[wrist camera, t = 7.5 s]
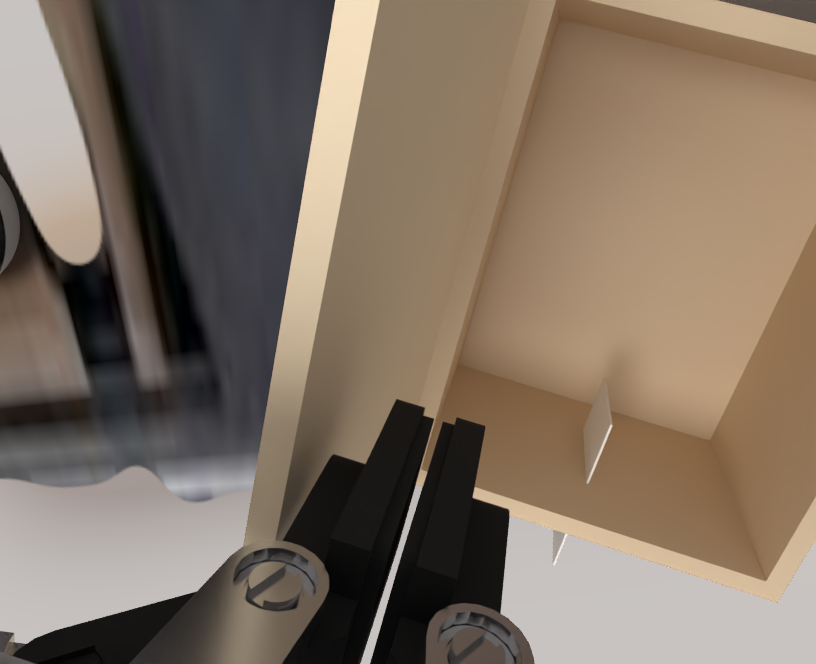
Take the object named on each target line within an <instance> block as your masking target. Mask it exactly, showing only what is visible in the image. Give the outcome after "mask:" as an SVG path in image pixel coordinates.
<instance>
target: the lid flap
mask: <svg viewBox="0 0 816 664" xmlns="http://www.w3.org/2000/svg"><path fill="white" fill-rule="evenodd" d="M529 1H530V0H336V1H335V7H334V13H333V19H332V25H331V31H330V37H329V42H328V48H327V54H326V60H325V66H324V72H323V78H322V84H321V90H320V96H319V102H318V107H317V113H316V119H315V125H314V131H313V137H312V143H311V149H310V155H309V161H308V167H307V172H306V178H305V184H304V190H303V196H302V202H301V208H300V214H299V220H298V226H297V232H296V237H295V243H294V249H293V255H292V261H291V267H290V273H289V279H288V285H287V291H286V297H285V302H284V308H283V314H282V320H281V326H280V332H279V338H278V344H277V350H276V356H275V362H274V367H273V373H272V379H271V385H270V391H269V397H268V403H267V409H266V415H265V421H264V427H263V432H262V438H261V444H260V450H259V456H258V462H257V468H256V474H255V480H254V486H253V492H252V498H251V503H250V509H249V515H248V521H247V527H246V533H245V539H244V545H243V547H244V546H247V545H249V544H252V543H255V542H260V541H267V540H277V541H282V540H283V539H284V537H285V535H286V534H287V532H288V530H289V528H290V527H291V525H292V523H293V521H294V520H295V518H296V516H297V514H298V513H299V511H300V509H301V507H302V506H303V504H304V502H305V500H306V499H307V497H308V495H309V493H310V492H311V490H312V488H313V486H314V485H315V483H316V481H317V479H318V478H319V476H320V474H321V472H322V471H323V469H324V467H325V466H326V464H327V462H328V460H329V459H330V457H331V456H332V455H333V454H335V455H339V456H342V457H345V458H348V459H351V460H354V461H358V462H361V463H364V464H366V462H367V460H368V458H369V456H370V453H371V451H372V449H373V447H374V445H375V443H376V441H377V439H378V437H379V434H380V432H381V430H382V428H383V426H384V424H385V422H386V420H387V418H388V415H389V413H390V411H391V409H392V407H393V405H394V403H395V401H396V399H399V400H402V401H405V402H408V403H412V404H415V405H418V406H419V403H420V399H421V395H422V392H423V388H424V384H425V381H426V377H427V373H428V370H429V366H430V362H431V359H432V355H433V351H434V348H435V344H436V340H437V337H438V333H439V330H440V326H441V322H442V319H443V315H444V311H445V308H446V304H447V300H448V297H449V293H450V289H451V286H452V282H453V278H454V275H455V271H456V267H457V264H458V260H459V256H460V253H461V249H462V246H463V242H464V238H465V235H466V231H467V227H468V224H469V220H470V216H471V213H472V209H473V205H474V202H475V198H476V194H477V191H478V187H479V183H480V180H481V176H482V172H483V169H484V165H485V161H486V158H487V154H488V151H489V147H490V143H491V140H492V136H493V132H494V129H495V125H496V121H497V118H498V114H499V110H500V107H501V103H502V99H503V96H504V92H505V88H506V85H507V81H508V77H509V74H510V70H511V67H512V63H513V59H514V56H515V52H516V48H517V45H518V41H519V37H520V34H521V30H522V26H523V23H524V19H525V15H526V12H527V8H528V4H529Z"/></svg>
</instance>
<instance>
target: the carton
mask: <svg viewBox="0 0 816 664" xmlns="http://www.w3.org/2000/svg"><path fill="white" fill-rule="evenodd" d="M419 406H422V407H425V411H424V416H427V417H430V418H434V422H433V425H432V429H431V432H430V436H429V440H428V443H427V447H426V450H425V454H424V457H423V461H422V464H421V468H420V471H419V475H418V478H417V482H416V485H419V486H422V487H423V485H424V481H425V478H426V475H427V472H428V468H429V465H430V462H431V459H432V455H433V452H434V449H435V446H436V443H437V439H438V436H439V433H440V430H441V426H442V423H443V421H444V422H447V423H450V424H453V425H454V424H455V421H456V418H457V417H458V418H461V419H464V420H468V421H471V422H474V423H477V424H481V425H484V426H486V428H485V433H484V439H483V444H482V450H481V455H480V460H479V466H478V471H477V477H476V482H475V488H474V493H473V498H475V499H478V500H481V501H484V502H488V503H491V504H494V505H497V506H500V507H503V508H507V509H509V515H510V516H513V517H516V518H520V519H523V520H526V521H529V522H532V523H535V524H538V525H541V526H544V527H547V528H550V529H553V565H555V564H556V561H557V559H558V556H559V554H560V551H561V549H562V547H563V544H564V542H565V540H566V537H567V535H571V536H575V537H578V538H581V539H584V540H587V541H590V542H593V543H596V544H599V545H602V546H605V547H608V548H611V549H614V550H617V551H620V552H623V553H626V554H630V555H633V556H636V557H639V558H642V559H645V560H648V561H651V562H654V563H657V564H660V565H663V566H666V567H669V568H672V569H675V570H679V571H681V572H685V573H688V574H691V575H694V576H697V577H700V578H703V579H706V580H709V581H712V582H715V583H718V584H721V585H724V586H727V587H730V588H734V589H736V590H740V591H743V592H746V593H749V594H752V595H755V596H758V597H761V598H764V599H767V600H770V601H774V602H776V603H778V601H779V600H780V598H781V596H782V595H783V593H784V591H785V590H786V588H787V586H788V585H789V583H790V581H791V580H792V578H793V576H794V574H795V573H796V571H797V570H798V568H799V566H800V565H801V563H802V561H803V560H804V558H805V556H806V555H807V553H808V552H809V550H810V548H811V546H812V545H813V543H814V541H815V540H816V24H815V23H811V22H806V21H802V20H798V19H794V18H789V17H785V16H781V15H777V14H773V13H768V12H764V11H760V10H756V9H751V8H747V7H743V6H739V5H734V4H730V3H726V2H722V1H718V0H530V1H529V4H528V8H527V12H526V15H525V19H524V23H523V26H522V30H521V34H520V37H519V41H518V45H517V48H516V52H515V56H514V59H513V63H512V67H511V70H510V74H509V77H508V81H507V85H506V88H505V92H504V96H503V99H502V103H501V107H500V110H499V114H498V118H497V121H496V125H495V129H494V132H493V136H492V140H491V143H490V147H489V151H488V154H487V158H486V161H485V165H484V169H483V172H482V176H481V180H480V183H479V187H478V191H477V194H476V198H475V202H474V205H473V209H472V213H471V216H470V220H469V224H468V227H467V231H466V235H465V238H464V242H463V246H462V249H461V253H460V256H459V260H458V264H457V267H456V271H455V275H454V278H453V282H452V286H451V289H450V293H449V297H448V300H447V304H446V308H445V311H444V315H443V319H442V322H441V326H440V330H439V333H438V337H437V340H436V344H435V348H434V351H433V355H432V359H431V362H430V366H429V370H428V373H427V377H426V381H425V384H424V388H423V392H422V395H421V399H420V403H419Z"/></svg>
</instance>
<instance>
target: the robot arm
mask: <svg viewBox="0 0 816 664" xmlns="http://www.w3.org/2000/svg"><path fill="white" fill-rule="evenodd" d="M424 411H425V407H422V406H418V405H415V404H412V403H408V402H405V401H402V400H399V399H396V401H395V403H394V405H393V407H392V409H391V411H390V413H389V415H388V418H387V420H386V422H385V424H384V426H383V428H382V430H381V432H380V434H379V437H378V439H377V441H376V443H375V445H374V447H373V449H372V451H371V453H370V456H369V458H368V460H367V462H366V464H364V463H361V462H358V461H354V460H351V459H348V458H345V457H342V456H339V455H335V454H333V455H332V456H331V457H330V459H329V460H328V462H327V464H326V466H325V467H324V469H323V471H322V472H321V474H320V476H319V478H318V479H317V481H316V483H315V485H314V486H313V488H312V490H311V492H310V493H309V495H308V497H307V499H306V500H305V502H304V504H303V506H302V507H301V509H300V511H299V513H298V514H297V516H296V518H295V520H294V521H293V523H292V525H291V527H290V528H289V530H288V532H287V534H286V535H285V537H284V539H283V540H282V541H277V540H267V541H260V542H255V543H252V544H249V545H247V546H244V547H242V548H241V549H239V550H238V551H237V552H235V553H234V554H233V555H231V556H230V557H229V558H228V559H227V561H225V563H224V564H223V565H222V566H221V567H220V568H219V569H218V570H217V571H216V572H215V573H214V574H213V575H212V576H211V577H210V578H209V580H208V581H207V582H206V583H205V584H204V585H203V586H202V587H201V588H200V589H199V590H198V591H197V592H194V593H190V594H186V595H183V596H179V597H175V598H172V599H168V600H164V601H161V602H157V603H154V604H150V605H146V606H143V607H139V608H135V609H132V610H129V611H125V612H121V613H118V614H114V615H110V616H106V617H103V618H99V619H95V620H92V621H88V622H85V623H81V624H77V625H74V626H71V627H67V628H63V629H59V630H55V631H53V632H50V633H48V634H45V635H43V636H40V637H38V638H35V639H33V640H32V641H31V642H29V643H28V644H22V643H15V642H14V633H10V632H2V631H0V664H360V663H361V660H362V656H363V653H364V650H365V647H366V644H367V641H368V638H369V635H370V631H371V629H372V626H373V622H374V619H375V616H376V613H377V610H378V607H379V604H380V601H381V598H382V595H383V591H384V588H385V585H386V582H387V579H388V576H389V573H390V570H391V566H392V564H393V561H394V557H395V554H396V551H397V548H398V544H399V541H400V538H401V534H402V530H403V527H404V524H405V520H406V517H407V513H408V510H409V506H410V503H411V499H412V496H413V492H414V489H415V485H416V482H417V478H418V475H419V471H420V468H421V464H422V461H423V457H424V454H425V450H426V447H427V443H428V440H429V436H430V432H431V429H432V425H433V422H434V418H430V417H427V416H424ZM485 428H486V426H484V425H481V424H477V423H474V422H471V421H468V420H464V419H461V418H458V417H457V418H456V421H455V424H454V425H453V424H450V423H447V422H444V421H443V423H442V426H441V430H440V433H439V436H438V439H437V443H436V446H435V449H434V452H433V455H432V459H431V462H430V465H429V468H428V472H427V475H426V478H425V481H424V485H423V488H422V491H421V495H420V498H419V501H418V504H417V507H416V511H415V514H414V517H413V520H412V523H411V527H410V530H409V533H408V536H407V540H406V543H405V546H404V550H403V553H402V556H401V560H400V563H399V566H398V569H397V573H396V576H395V580H394V583H393V587H392V590H391V593H390V597H389V600H388V604H387V607H386V611H385V614H384V618H383V621H382V625H381V628H380V632H379V635H378V639H377V642H376V646H375V649H374V653H373V656H372V659H371V663H370V664H534V657H533V654H532V651H531V648H530V645H529V643H528V641H527V640H526V638H525V636H524V635H523V633H522V632H521V631H520V630H519V628H518V627H517V626H515V625H514V624H513V623H512V622H511V621H510V620H509V619H508V618H506V617H505V616H503V615H501V614H500V611H501V600H502V590H503V579H504V569H505V557H506V547H507V537H508V526H509V509H507V508H503V507H500V506H497V505H494V504H491V503H488V502H484V501H481V500H478V499H475V498H473V493H474V488H475V482H476V477H477V471H478V466H479V460H480V455H481V450H482V444H483V439H484V433H485Z"/></svg>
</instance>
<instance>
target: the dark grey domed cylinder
mask: <svg viewBox="0 0 816 664" xmlns="http://www.w3.org/2000/svg"><path fill="white" fill-rule="evenodd" d="M19 236H20V218H19V212H18V208H17V204H16V201H15V199H14V196H13V194H12V192H11V190H10V188H9V186H8V185H7V183H6V182H5V180H4V179H3V177H2V176H1V175H0V274H1V273H2V272H3V271H4V269H5V268H6V267H7V266H8V264H9V263H10V261H11V260H12V258H13V256H14V254H15V251H16V248H17V246H18V242H19Z"/></svg>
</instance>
